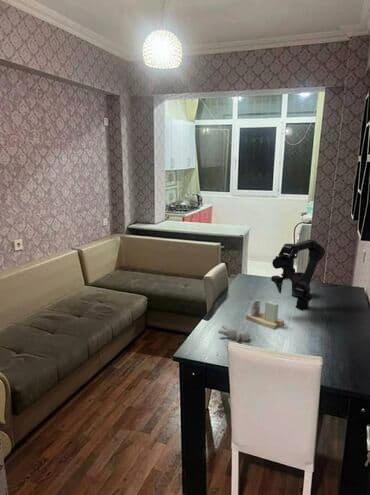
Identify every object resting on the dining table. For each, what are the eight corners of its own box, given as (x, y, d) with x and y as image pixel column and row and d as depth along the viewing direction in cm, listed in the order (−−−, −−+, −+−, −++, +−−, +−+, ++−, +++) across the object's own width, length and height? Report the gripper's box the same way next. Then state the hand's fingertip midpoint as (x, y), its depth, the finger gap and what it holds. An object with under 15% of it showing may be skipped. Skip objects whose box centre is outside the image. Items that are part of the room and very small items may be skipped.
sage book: (268, 317, 198) (269, 300, 196) (277, 321, 194) (278, 303, 192) (264, 319, 196) (265, 302, 194) (274, 322, 192) (275, 305, 190)
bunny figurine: (247, 337, 171) (217, 328, 177) (245, 346, 173) (216, 337, 178) (252, 329, 180) (223, 320, 185) (250, 338, 181) (222, 329, 187)
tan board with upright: (256, 314, 208) (257, 297, 206) (283, 323, 195) (284, 306, 193) (245, 318, 201) (246, 302, 199) (273, 329, 189) (274, 311, 186)
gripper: (283, 271, 193) (281, 298, 196) (311, 268, 199) (309, 294, 203) (271, 266, 203) (269, 292, 206) (298, 263, 210) (296, 288, 213)
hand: (286, 292), depth 207 cm, fingers open, 9 cm apart
